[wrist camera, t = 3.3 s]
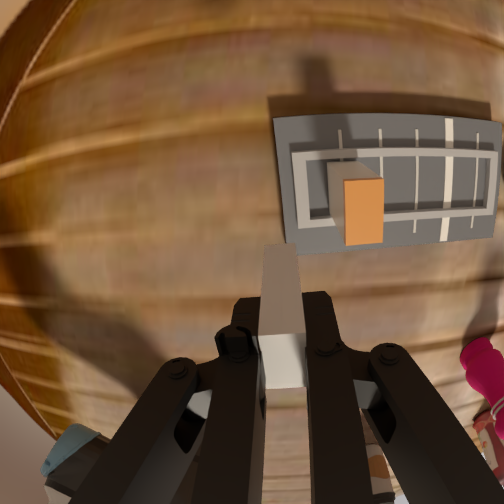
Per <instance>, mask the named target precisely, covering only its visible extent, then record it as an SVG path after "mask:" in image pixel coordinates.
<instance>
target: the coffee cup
mask: <svg viewBox="0 0 504 504" xmlns="http://www.w3.org/2000/svg"><path fill="white" fill-rule="evenodd" d="M366 451H367V457H368V463H369V470H370V477H371V484H372V491H373V499H374V504H394V500H395V493H394V491H393V487H392V484H391V480H390V475H389V471H388V468H387V464H386V461H385V458H384V455H383V452H382V449H381V447H380V446H379V445H376V444H370V445H366Z"/></svg>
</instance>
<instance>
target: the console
mask: <svg viewBox="0 0 504 504" xmlns="http://www.w3.org/2000/svg"><path fill="white" fill-rule="evenodd" d="M273 122H274V130H275V139H276V147H277V156H278V165H279V174H280V184H281V194H282V204H283V214H284V224H285V235H286V244H287V243H295V246H296V253H297V256H298V255H310V254H321V253H332V252H343V251H355V250H366V249H376V248H387V247H398V246H409V245H419V244H430V243H440V242H451V241H461V240H471V239H481V238H491V237H493V232H494V226H495V219H496V212H497V204H498V196H499V185H500V173H501V154H502V123H500V122H495V121H489V120H482V119H474V118H465V117H455V116H443V115H429V114H409V113H335V114H314V115H299V116H287V117H276V118H273ZM341 161H359V162H360V163H362V164H363V165H365V166H366V167H368V168H369V169H370V170H372V171H373V172H375V173H376V174H377V175H379V176H380V177H382V178H383V179H384V221H383V243H372V244H361V245H349V246H346V245H345V243H344V241H343V239H342V237H341V235H340V233H339V231H338V229H337V227H336V225H335V223H334V221H333V219H332V217H331V215H330V212H329V191H328V174H327V162H341Z"/></svg>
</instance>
